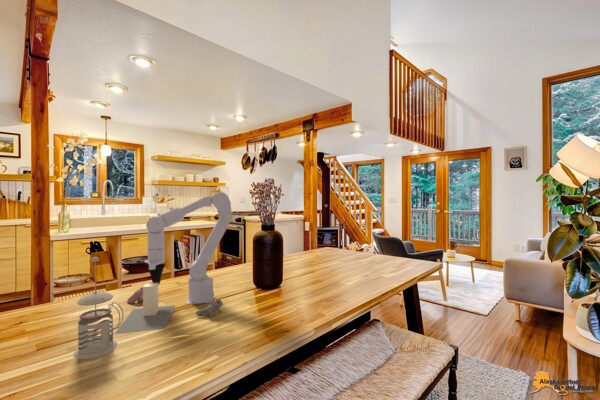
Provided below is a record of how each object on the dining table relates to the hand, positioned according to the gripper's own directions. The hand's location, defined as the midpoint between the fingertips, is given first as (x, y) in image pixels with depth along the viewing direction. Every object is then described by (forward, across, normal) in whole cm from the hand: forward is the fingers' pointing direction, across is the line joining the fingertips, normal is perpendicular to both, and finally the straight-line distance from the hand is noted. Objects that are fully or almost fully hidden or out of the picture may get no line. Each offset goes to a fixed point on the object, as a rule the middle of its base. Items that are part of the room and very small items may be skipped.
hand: (156, 284), depth 112 cm
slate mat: (+8, +13, 0) cm, 16 cm away
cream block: (+8, +9, 0) cm, 12 cm away
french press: (+8, +31, -8) cm, 33 cm away
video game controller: (+8, -7, -7) cm, 13 cm away
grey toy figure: (+8, +17, +20) cm, 28 cm away
